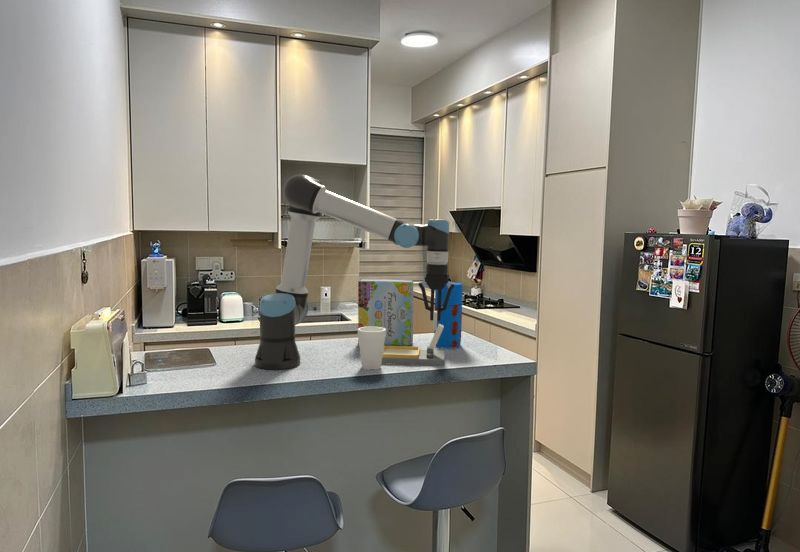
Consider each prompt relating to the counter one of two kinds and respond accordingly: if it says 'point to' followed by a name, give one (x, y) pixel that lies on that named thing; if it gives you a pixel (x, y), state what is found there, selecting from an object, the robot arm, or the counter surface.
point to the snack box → (387, 308)
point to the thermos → (450, 317)
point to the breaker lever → (435, 339)
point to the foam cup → (371, 346)
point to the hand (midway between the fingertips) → (434, 329)
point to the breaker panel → (411, 355)
